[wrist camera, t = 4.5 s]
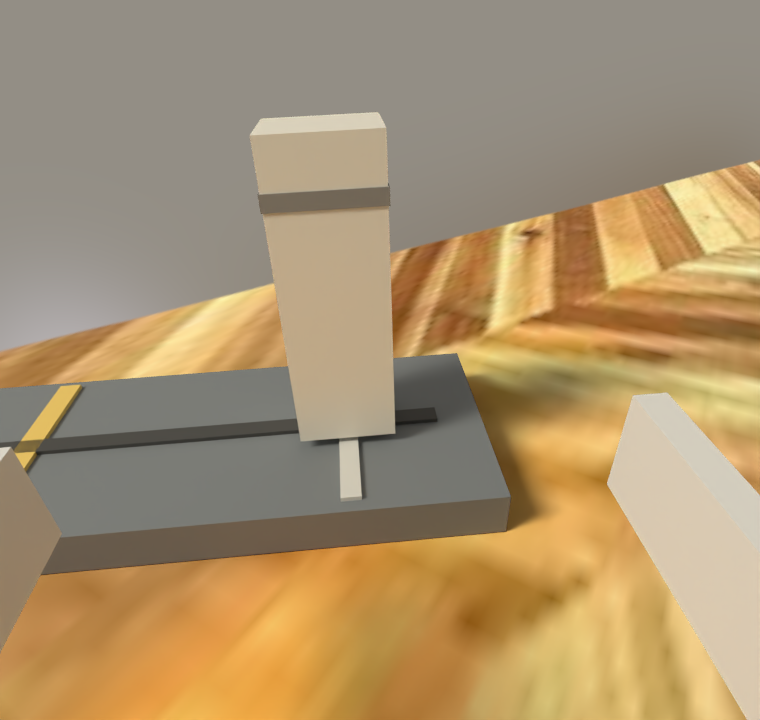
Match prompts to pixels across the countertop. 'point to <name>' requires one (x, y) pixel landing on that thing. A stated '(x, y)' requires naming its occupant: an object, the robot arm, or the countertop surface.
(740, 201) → the countertop surface
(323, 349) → the fader knob
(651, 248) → the countertop surface
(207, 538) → the fader console
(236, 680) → the countertop surface
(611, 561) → the countertop surface
